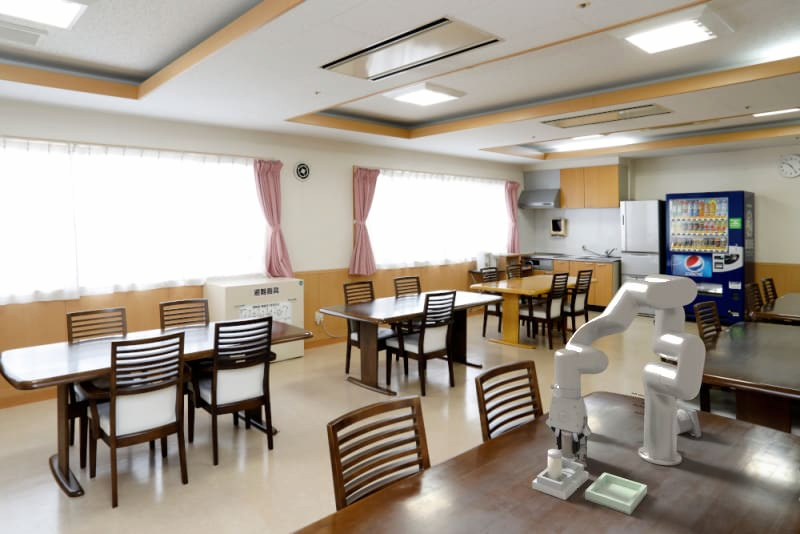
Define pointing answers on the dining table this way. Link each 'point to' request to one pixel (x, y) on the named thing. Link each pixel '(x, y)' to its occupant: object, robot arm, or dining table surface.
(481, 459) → the dining table surface
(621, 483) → the parts tray
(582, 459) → the coffee box
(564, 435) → the cylinder
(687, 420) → the voltmeter
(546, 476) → the fuse block
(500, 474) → the dining table surface
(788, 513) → the dining table surface
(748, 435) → the dining table surface
